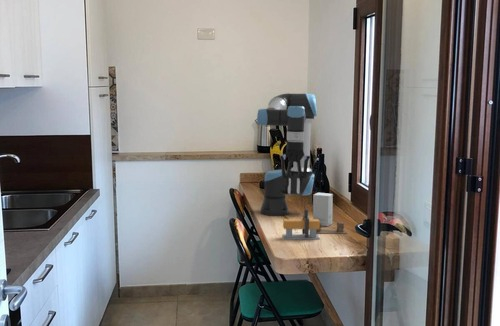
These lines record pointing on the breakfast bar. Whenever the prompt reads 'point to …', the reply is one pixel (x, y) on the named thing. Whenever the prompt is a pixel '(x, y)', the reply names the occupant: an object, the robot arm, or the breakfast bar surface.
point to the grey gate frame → (306, 224)
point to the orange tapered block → (300, 224)
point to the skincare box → (323, 208)
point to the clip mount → (299, 235)
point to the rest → (332, 231)
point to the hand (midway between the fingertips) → (293, 193)
